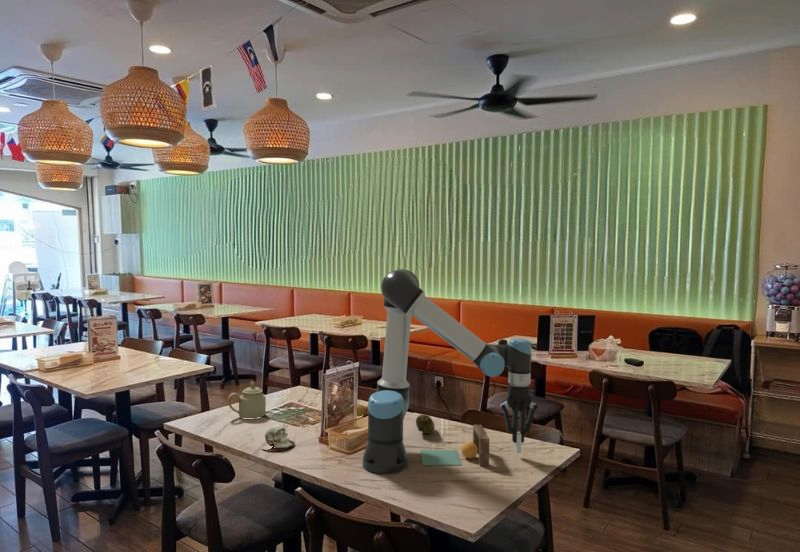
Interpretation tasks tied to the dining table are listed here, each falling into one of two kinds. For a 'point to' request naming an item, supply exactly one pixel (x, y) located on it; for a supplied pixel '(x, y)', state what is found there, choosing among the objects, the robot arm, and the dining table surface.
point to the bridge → (481, 444)
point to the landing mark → (440, 457)
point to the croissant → (361, 410)
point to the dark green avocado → (425, 423)
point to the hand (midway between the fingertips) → (517, 451)
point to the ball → (469, 450)
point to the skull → (278, 438)
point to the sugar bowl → (250, 402)
